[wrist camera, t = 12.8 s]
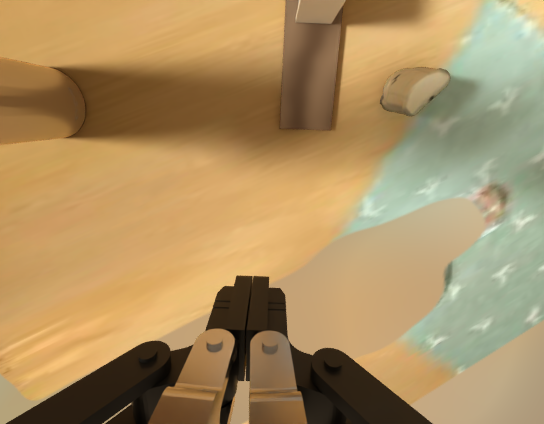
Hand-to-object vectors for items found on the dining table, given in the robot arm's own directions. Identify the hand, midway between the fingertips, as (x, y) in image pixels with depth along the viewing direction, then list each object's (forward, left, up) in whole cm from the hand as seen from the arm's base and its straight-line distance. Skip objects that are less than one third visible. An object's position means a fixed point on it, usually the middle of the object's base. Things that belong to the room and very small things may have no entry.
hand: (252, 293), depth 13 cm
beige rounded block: (+17, +11, -31) cm, 37 cm away
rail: (+5, +18, -31) cm, 36 cm away
